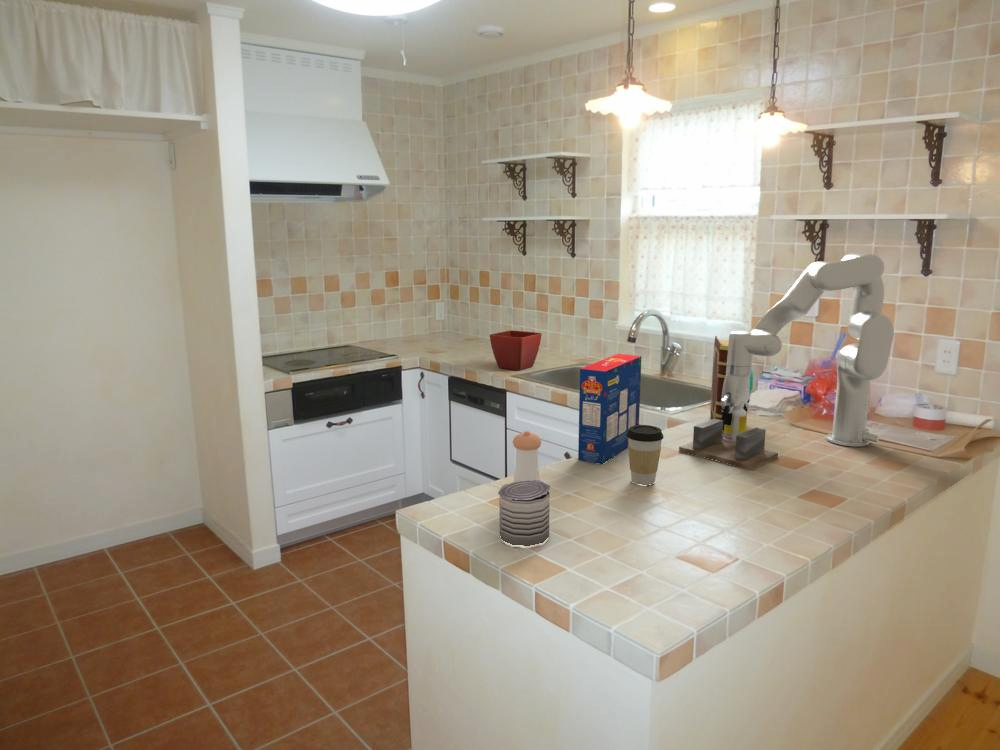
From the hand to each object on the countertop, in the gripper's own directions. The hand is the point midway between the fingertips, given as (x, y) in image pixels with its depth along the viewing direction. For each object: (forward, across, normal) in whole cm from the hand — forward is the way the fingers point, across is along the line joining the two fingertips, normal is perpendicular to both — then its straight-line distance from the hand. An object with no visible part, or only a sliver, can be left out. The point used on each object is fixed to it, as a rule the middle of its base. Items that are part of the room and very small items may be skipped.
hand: (734, 421), depth 227 cm
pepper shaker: (+8, +86, -8) cm, 87 cm away
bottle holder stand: (+6, +15, +6) cm, 17 cm away
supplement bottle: (+6, 0, 0) cm, 6 cm away
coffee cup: (+7, +53, +2) cm, 53 cm away
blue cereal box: (+7, +37, -22) cm, 43 cm away
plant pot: (+8, -33, -134) cm, 139 cm away
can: (+8, +100, +4) cm, 101 cm away
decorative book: (+6, -13, -10) cm, 18 cm away
